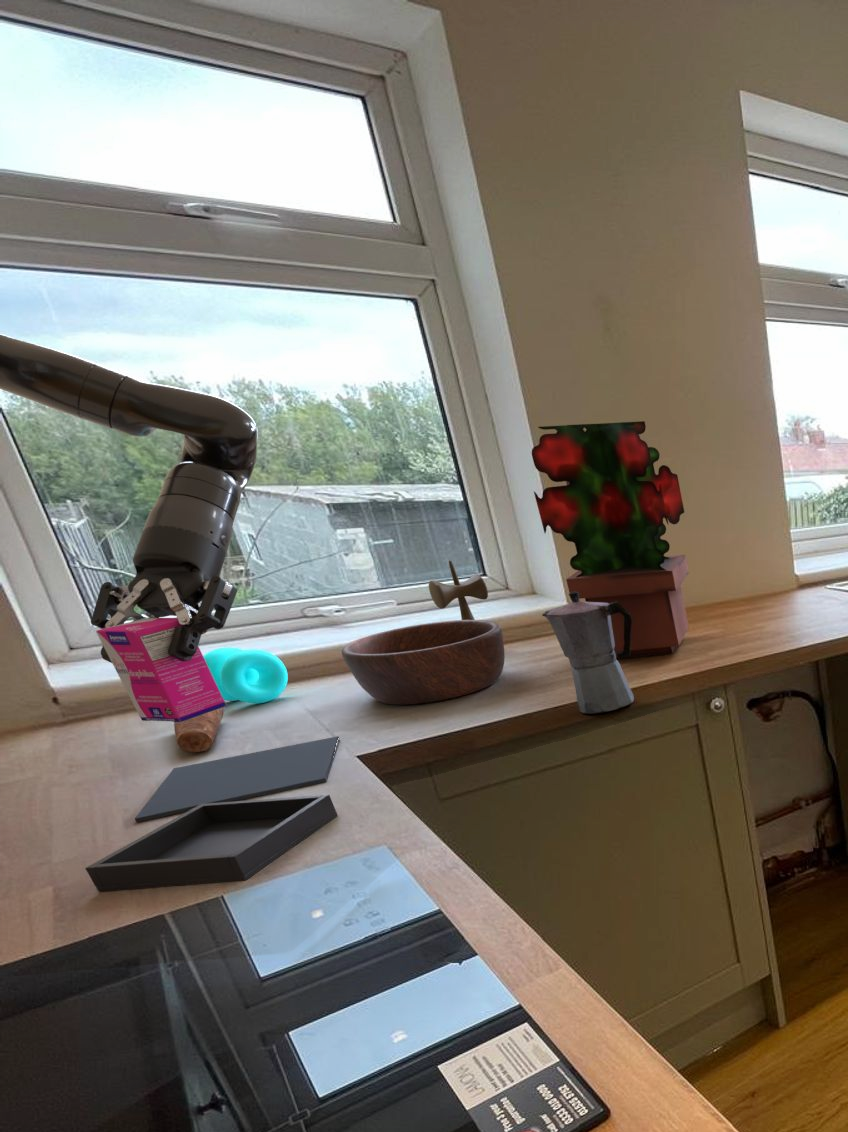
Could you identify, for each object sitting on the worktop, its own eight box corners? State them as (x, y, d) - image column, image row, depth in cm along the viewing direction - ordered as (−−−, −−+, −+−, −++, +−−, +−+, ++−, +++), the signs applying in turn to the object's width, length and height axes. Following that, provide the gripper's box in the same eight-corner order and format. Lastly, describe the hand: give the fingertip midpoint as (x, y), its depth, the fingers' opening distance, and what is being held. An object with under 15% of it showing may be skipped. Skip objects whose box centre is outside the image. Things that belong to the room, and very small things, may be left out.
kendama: (448, 656, 175) (418, 563, 167) (495, 645, 182) (469, 555, 174) (459, 660, 172) (429, 565, 164) (507, 649, 179) (480, 557, 171)
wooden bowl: (521, 690, 151) (505, 636, 147) (357, 722, 138) (335, 664, 134) (508, 660, 170) (494, 612, 166) (363, 686, 157) (344, 635, 153)
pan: (98, 892, 90) (84, 868, 89) (211, 825, 104) (201, 803, 103) (245, 880, 91) (234, 856, 90) (338, 815, 105) (329, 794, 104)
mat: (136, 822, 106) (134, 818, 106) (175, 771, 121) (173, 768, 121) (326, 781, 115) (324, 778, 115) (339, 739, 131) (338, 736, 131)
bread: (230, 719, 143) (217, 689, 140) (220, 750, 129) (205, 718, 126) (182, 728, 139) (168, 698, 137) (167, 762, 125) (150, 728, 123)
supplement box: (139, 722, 97) (92, 629, 93) (192, 705, 102) (150, 616, 98) (178, 723, 96) (132, 629, 92) (229, 706, 101) (188, 616, 97)
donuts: (241, 711, 146) (217, 658, 142) (205, 707, 149) (181, 655, 145) (300, 693, 155) (279, 643, 151) (265, 690, 158) (244, 640, 154)
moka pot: (580, 698, 145) (551, 587, 137) (664, 695, 145) (640, 583, 137) (552, 717, 136) (519, 599, 129) (641, 714, 136) (613, 596, 128)
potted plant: (695, 657, 166) (647, 421, 148) (579, 668, 162) (517, 427, 144) (707, 630, 186) (666, 420, 168) (604, 640, 182) (552, 425, 164)
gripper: (94, 526, 97) (46, 648, 91) (220, 520, 98) (181, 640, 92) (153, 562, 104) (113, 678, 98) (270, 556, 105) (237, 671, 99)
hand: (146, 659), depth 95 cm, fingers closed on supplement box, 6 cm apart
